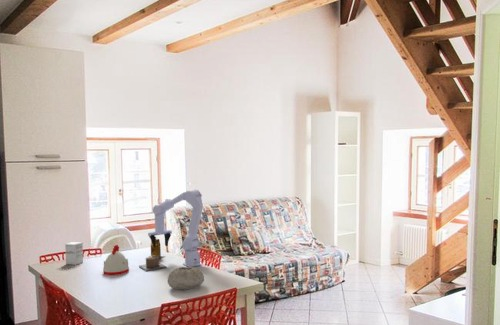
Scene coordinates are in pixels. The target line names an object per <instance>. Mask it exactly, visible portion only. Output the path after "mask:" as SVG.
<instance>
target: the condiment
mask: <svg viewBox="0 0 500 325" xmlns="http://www.w3.org/2000/svg"><path fill="white" fill-rule="evenodd" d="M160 241H161V240H160V239H159V238H156V242H155V243H156V248H154V247H153V244H152V241H151V240H150V256H153V255H155V256H159V260H161V259H163V258H165V257H166V256H164V255H163V256H162V254H161V253H162V252H161V242H160Z"/></svg>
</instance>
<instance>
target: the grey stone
mask: <svg viewBox="0 0 500 325" xmlns="http://www.w3.org/2000/svg"><path fill="white" fill-rule="evenodd" d="M204 281H205V276H204V273H203V271H202V270H201V269H199V268H197V267H195V266H193V267H188V266H178V267H176V268H173V270H171V271H169V273H168V276H167V284H168V287H170V288H171V289H174V290H178V291H185V290H189V289H194V288H198V287H199V286H201V285H202V284H203V283H204Z"/></svg>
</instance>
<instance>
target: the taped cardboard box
mask: <svg viewBox="0 0 500 325" xmlns="http://www.w3.org/2000/svg"><path fill="white" fill-rule="evenodd" d="M159 263H160V259H159V256H155V255H153V256H151V255H149V256H147V257H145V264H146V267H156V266H157V265H159Z"/></svg>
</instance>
